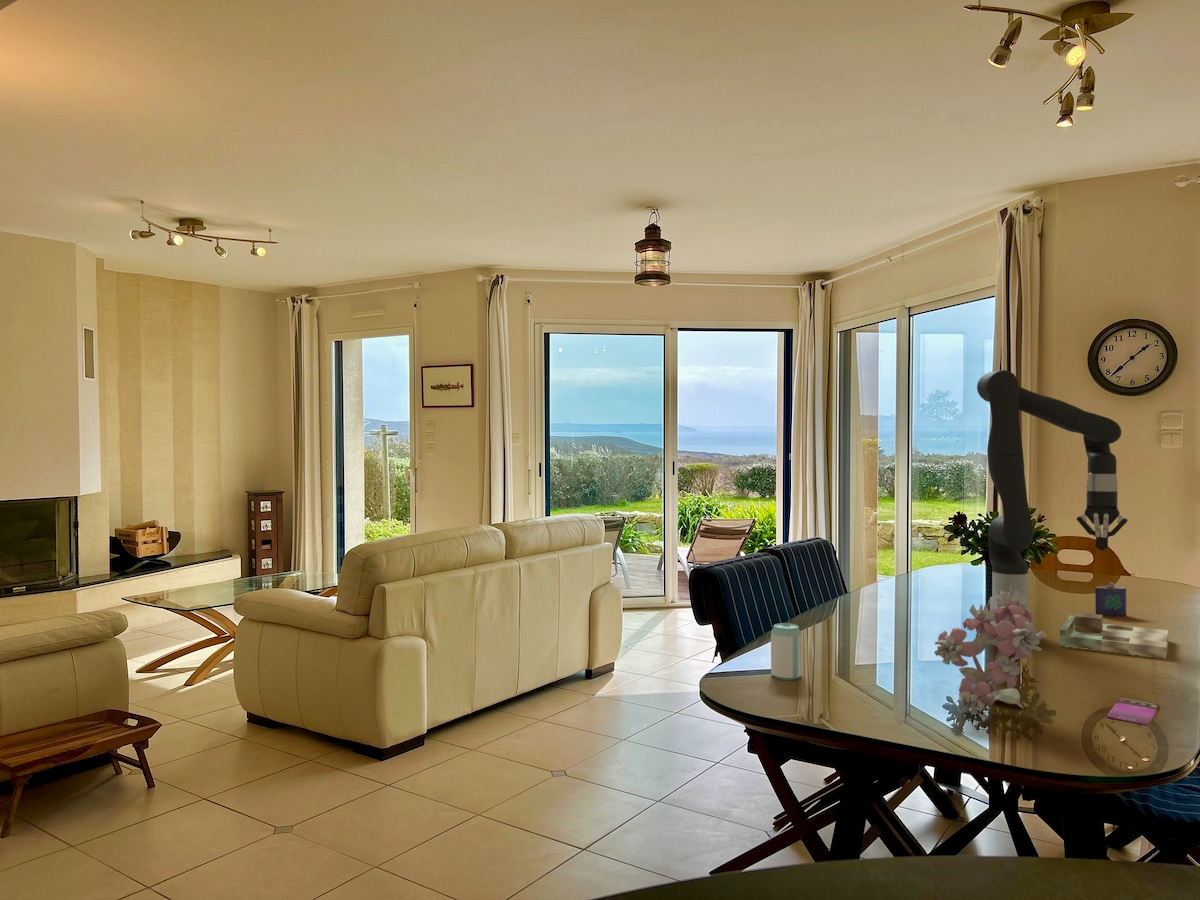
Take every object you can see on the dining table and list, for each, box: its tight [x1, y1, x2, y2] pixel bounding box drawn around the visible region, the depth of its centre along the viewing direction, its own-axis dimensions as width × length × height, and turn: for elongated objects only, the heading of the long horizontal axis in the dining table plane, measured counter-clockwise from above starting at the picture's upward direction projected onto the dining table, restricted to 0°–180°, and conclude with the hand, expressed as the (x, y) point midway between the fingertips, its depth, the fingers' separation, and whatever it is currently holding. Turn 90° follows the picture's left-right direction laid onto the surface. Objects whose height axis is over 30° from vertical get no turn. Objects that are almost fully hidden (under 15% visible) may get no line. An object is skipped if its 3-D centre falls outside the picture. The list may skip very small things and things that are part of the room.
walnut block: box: [1075, 612, 1104, 634], centre depth 229 cm, size 6×6×4 cm
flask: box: [1094, 581, 1127, 618], centre depth 262 cm, size 9×3×11 cm, turn 88°
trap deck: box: [1059, 614, 1169, 660], centre depth 226 cm, size 24×23×4 cm
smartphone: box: [1105, 697, 1160, 726], centre depth 169 cm, size 7×15×1 cm, turn 139°
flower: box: [933, 584, 1048, 716], centre depth 174 cm, size 20×22×25 cm
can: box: [770, 622, 803, 681], centre depth 196 cm, size 7×7×12 cm
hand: (1101, 550), depth 238 cm, fingers closed
